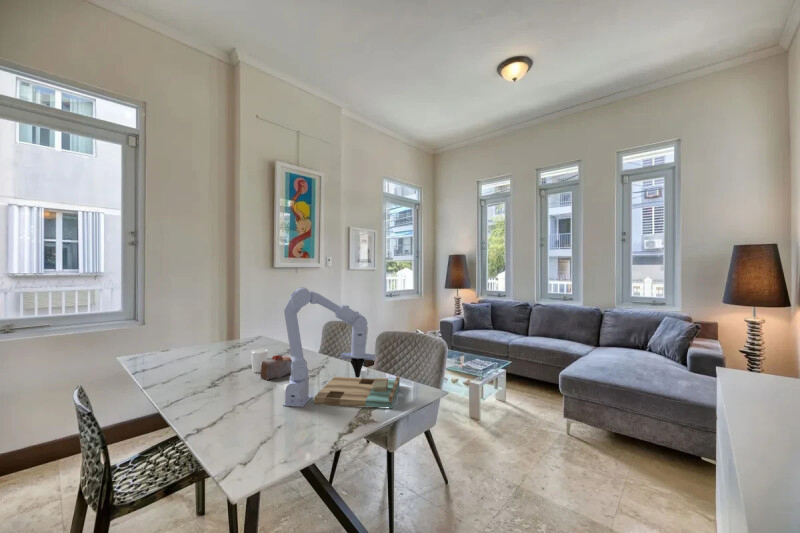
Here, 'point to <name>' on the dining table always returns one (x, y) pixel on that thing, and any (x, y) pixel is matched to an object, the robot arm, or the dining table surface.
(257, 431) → the dining table surface
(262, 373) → the food item
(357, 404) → the track
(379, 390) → the block
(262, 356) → the white cup
